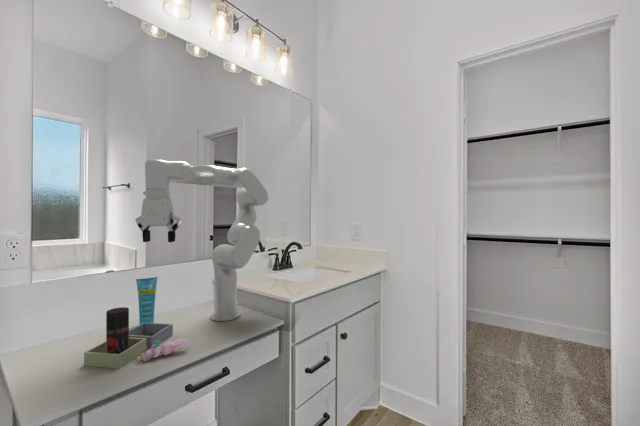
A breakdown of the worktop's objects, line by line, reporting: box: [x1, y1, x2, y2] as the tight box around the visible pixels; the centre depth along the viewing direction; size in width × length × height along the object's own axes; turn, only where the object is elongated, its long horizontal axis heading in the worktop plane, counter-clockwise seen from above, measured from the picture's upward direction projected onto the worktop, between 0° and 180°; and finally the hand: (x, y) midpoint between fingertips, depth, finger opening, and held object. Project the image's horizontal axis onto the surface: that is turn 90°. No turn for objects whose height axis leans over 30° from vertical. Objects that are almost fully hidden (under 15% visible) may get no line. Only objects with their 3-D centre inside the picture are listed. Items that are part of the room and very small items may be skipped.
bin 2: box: [129, 322, 174, 350], centre depth 109 cm, size 12×12×4 cm
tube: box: [135, 276, 158, 325], centre depth 123 cm, size 7×5×19 cm, turn 123°
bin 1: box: [83, 337, 148, 369], centre depth 97 cm, size 12×12×4 cm
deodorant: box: [105, 306, 130, 354], centre depth 97 cm, size 6×6×15 cm
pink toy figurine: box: [135, 338, 189, 364], centre depth 98 cm, size 6×6×15 cm
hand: (159, 241), depth 110 cm, fingers open, 9 cm apart
